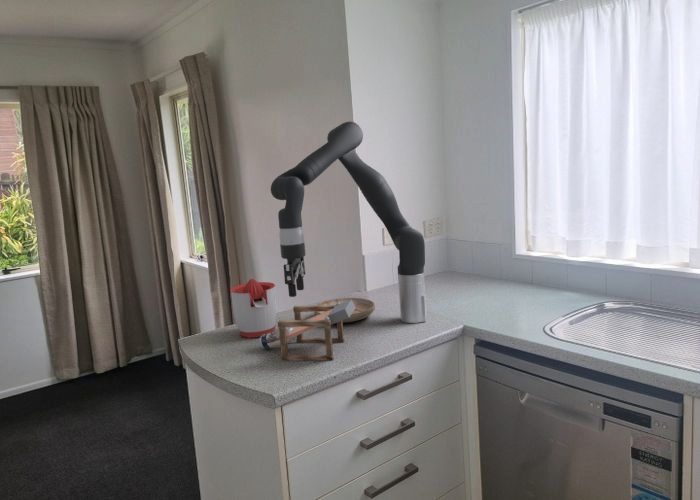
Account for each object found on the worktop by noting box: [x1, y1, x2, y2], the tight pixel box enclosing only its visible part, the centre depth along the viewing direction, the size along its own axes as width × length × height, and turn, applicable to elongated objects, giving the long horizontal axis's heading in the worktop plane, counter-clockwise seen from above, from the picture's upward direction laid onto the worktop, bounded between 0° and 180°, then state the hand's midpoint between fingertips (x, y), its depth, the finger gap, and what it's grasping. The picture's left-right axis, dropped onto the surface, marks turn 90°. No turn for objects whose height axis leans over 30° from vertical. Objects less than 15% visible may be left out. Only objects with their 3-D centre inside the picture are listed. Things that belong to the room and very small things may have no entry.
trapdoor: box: [287, 299, 356, 339], centre depth 173 cm, size 20×14×3 cm
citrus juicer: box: [230, 278, 278, 339], centre depth 195 cm, size 16×17×20 cm
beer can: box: [258, 327, 297, 350], centre depth 177 cm, size 5×5×12 cm
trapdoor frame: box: [277, 302, 345, 361], centre depth 174 cm, size 16×18×13 cm
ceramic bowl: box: [313, 297, 376, 324], centre depth 208 cm, size 23×24×5 cm
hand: (296, 293), depth 173 cm, fingers open, 8 cm apart
